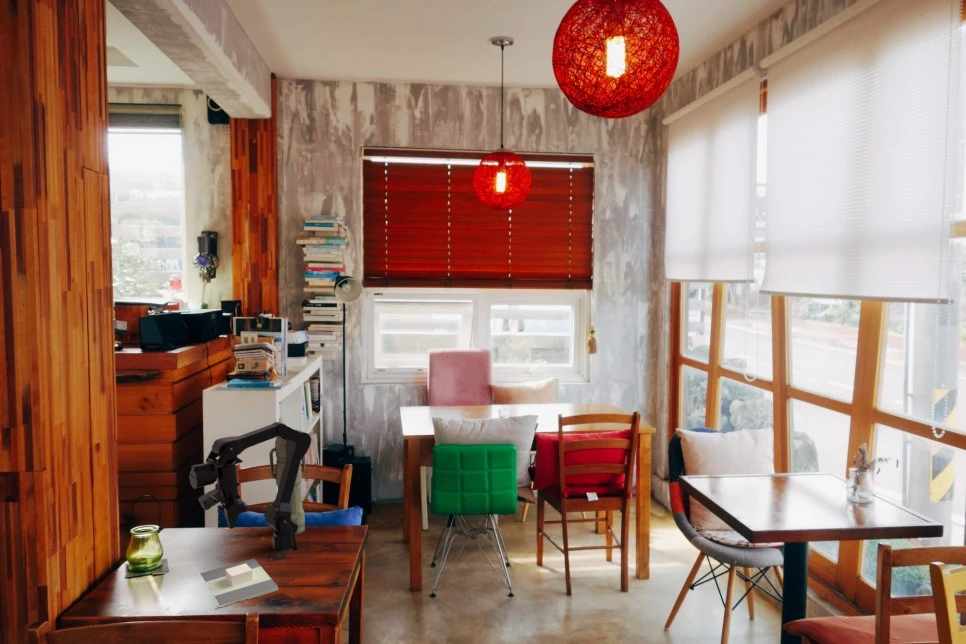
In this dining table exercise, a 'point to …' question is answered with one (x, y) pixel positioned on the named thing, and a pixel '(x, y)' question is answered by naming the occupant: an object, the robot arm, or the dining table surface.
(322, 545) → the dining table surface
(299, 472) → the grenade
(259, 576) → the board
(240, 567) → the cream block
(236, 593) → the mats
